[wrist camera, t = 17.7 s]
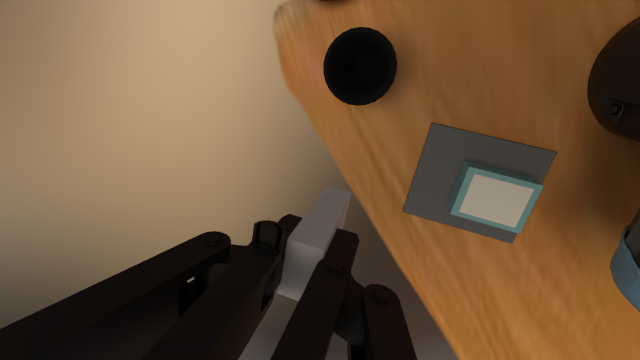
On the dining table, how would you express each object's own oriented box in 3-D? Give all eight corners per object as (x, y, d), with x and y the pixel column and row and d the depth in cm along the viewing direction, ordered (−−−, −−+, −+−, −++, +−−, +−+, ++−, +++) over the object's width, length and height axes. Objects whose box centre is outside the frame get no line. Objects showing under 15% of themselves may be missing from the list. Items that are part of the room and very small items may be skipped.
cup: (397, 36, 41) (394, 20, 30) (401, 95, 43) (399, 100, 32) (341, 46, 43) (318, 34, 32) (346, 101, 45) (327, 109, 34)
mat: (431, 122, 43) (432, 123, 43) (555, 151, 40) (557, 152, 40) (402, 210, 48) (402, 211, 47) (511, 242, 45) (512, 243, 45)
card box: (450, 214, 42) (520, 234, 40) (469, 166, 40) (544, 186, 38) (447, 204, 45) (511, 222, 44) (464, 160, 43) (533, 177, 41)
